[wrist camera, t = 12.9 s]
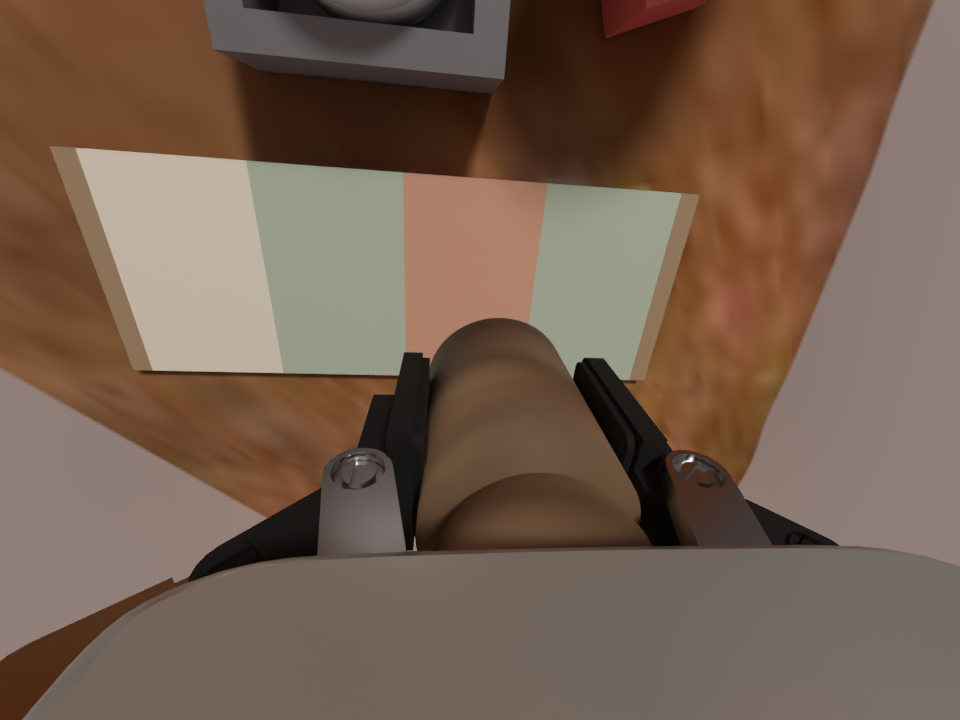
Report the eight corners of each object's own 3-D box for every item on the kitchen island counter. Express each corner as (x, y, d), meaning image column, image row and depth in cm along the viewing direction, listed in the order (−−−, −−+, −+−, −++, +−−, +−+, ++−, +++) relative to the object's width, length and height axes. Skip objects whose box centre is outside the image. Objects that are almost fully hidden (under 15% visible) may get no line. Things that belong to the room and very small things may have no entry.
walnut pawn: (427, 433, 14) (400, 834, 6) (429, 314, 12) (390, 668, 4) (550, 434, 14) (690, 808, 6) (572, 320, 12) (823, 648, 4)
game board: (140, 365, 23) (133, 370, 22) (61, 146, 18) (49, 146, 17) (639, 375, 26) (644, 380, 25) (693, 193, 21) (699, 195, 20)
